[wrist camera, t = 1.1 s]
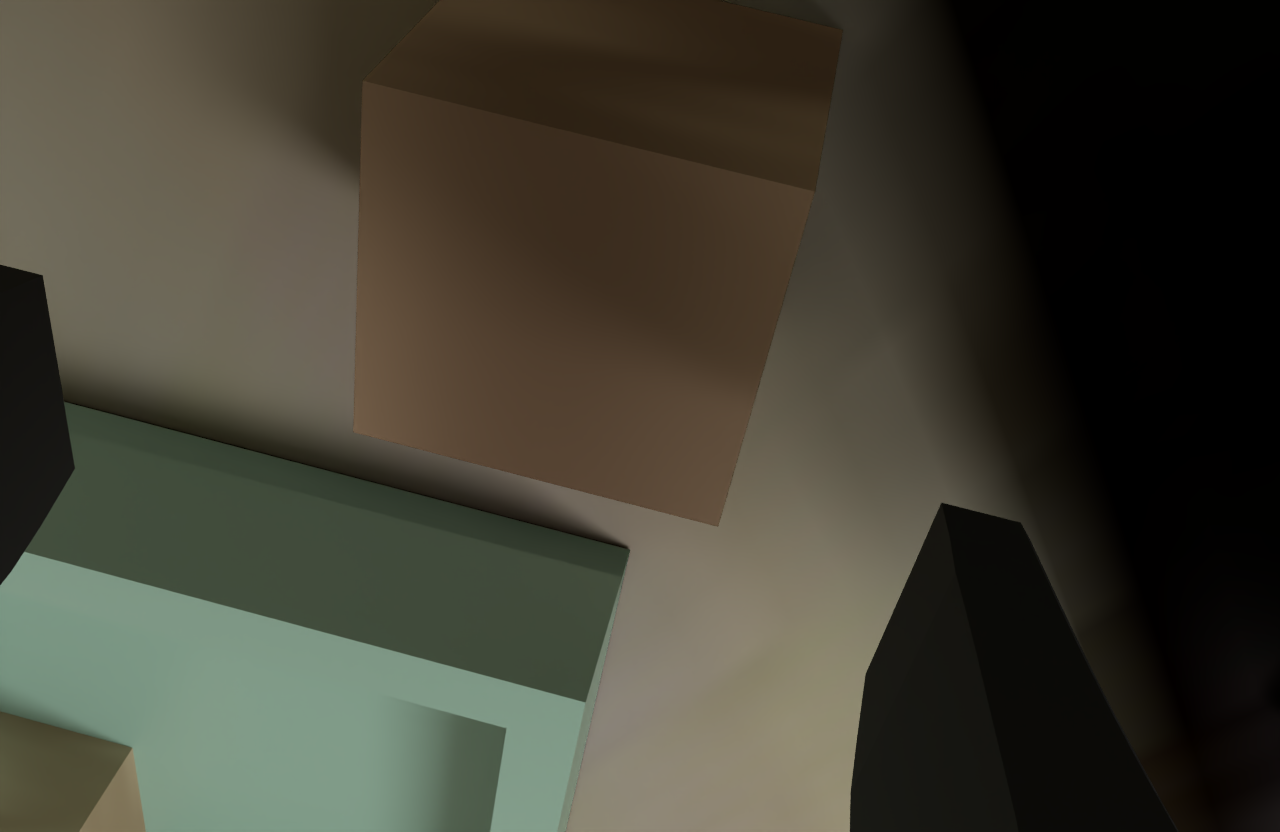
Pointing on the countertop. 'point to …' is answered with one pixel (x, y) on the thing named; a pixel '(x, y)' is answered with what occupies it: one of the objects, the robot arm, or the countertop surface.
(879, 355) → the countertop surface
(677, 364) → the walnut block
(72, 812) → the beech block in tray
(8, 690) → the tray
